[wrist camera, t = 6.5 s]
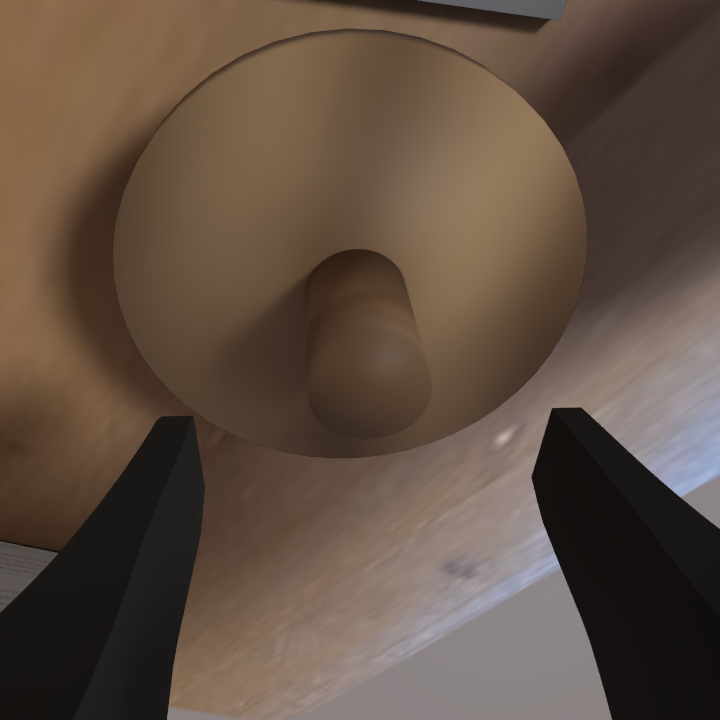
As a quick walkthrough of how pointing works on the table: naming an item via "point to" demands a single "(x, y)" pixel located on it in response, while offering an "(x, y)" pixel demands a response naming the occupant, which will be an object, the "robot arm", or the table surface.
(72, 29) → the table surface
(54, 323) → the table surface
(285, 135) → the lid
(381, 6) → the table surface
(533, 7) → the mat
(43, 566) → the supplement box
